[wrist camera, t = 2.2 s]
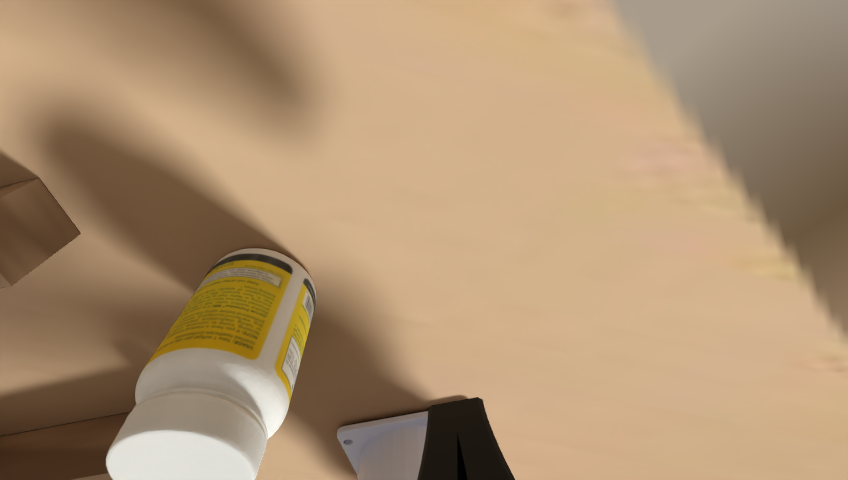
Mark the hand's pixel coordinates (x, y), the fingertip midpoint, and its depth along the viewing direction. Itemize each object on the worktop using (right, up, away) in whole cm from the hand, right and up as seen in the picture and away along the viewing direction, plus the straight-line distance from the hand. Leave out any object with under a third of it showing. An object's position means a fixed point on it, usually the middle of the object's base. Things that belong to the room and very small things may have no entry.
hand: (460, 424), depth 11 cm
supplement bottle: (-8, +3, +8) cm, 12 cm away
